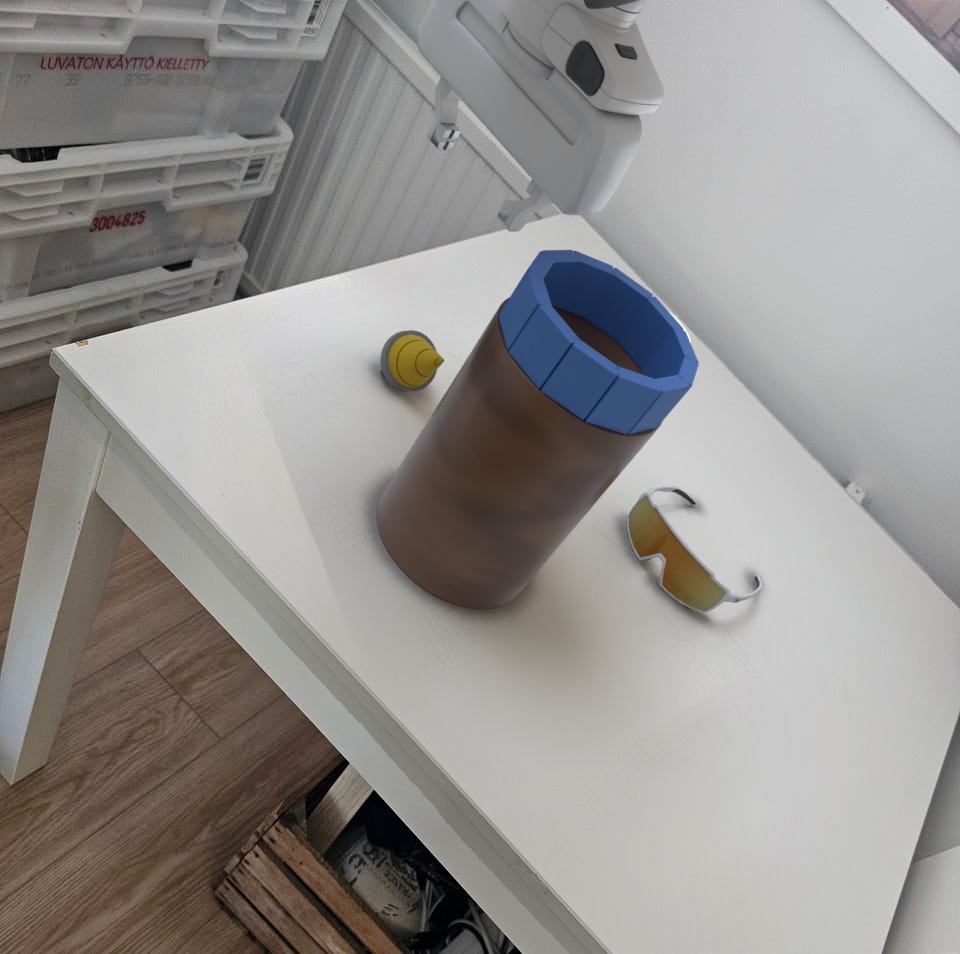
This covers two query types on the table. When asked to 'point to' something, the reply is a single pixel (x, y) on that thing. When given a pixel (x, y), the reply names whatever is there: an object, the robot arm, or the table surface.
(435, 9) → the robot arm
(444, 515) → the stand
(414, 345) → the yellow tiered cone
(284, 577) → the table surface
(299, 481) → the table surface
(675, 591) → the sunglasses
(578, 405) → the blue segmented ring
